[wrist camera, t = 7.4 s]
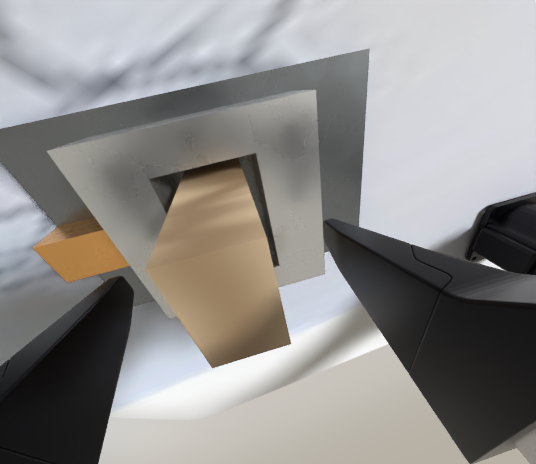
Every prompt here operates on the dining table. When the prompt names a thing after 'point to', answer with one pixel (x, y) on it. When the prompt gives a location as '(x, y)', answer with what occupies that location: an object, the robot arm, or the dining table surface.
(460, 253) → the dining table surface
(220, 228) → the oak wedge
